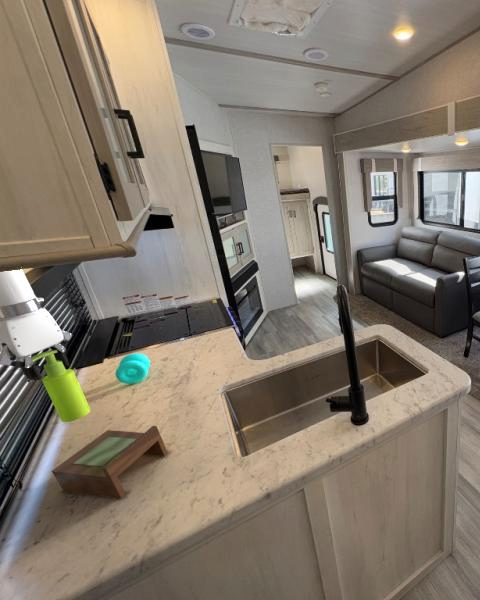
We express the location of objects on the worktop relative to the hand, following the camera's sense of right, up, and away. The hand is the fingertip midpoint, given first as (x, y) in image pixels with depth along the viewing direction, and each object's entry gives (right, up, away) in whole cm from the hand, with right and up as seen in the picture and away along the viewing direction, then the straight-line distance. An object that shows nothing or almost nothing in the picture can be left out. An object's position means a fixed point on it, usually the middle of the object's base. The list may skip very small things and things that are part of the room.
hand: (50, 371), depth 81 cm
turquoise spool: (-18, -14, +49) cm, 54 cm away
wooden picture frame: (+14, -29, +5) cm, 32 cm away
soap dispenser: (+1, -14, +5) cm, 15 cm away
